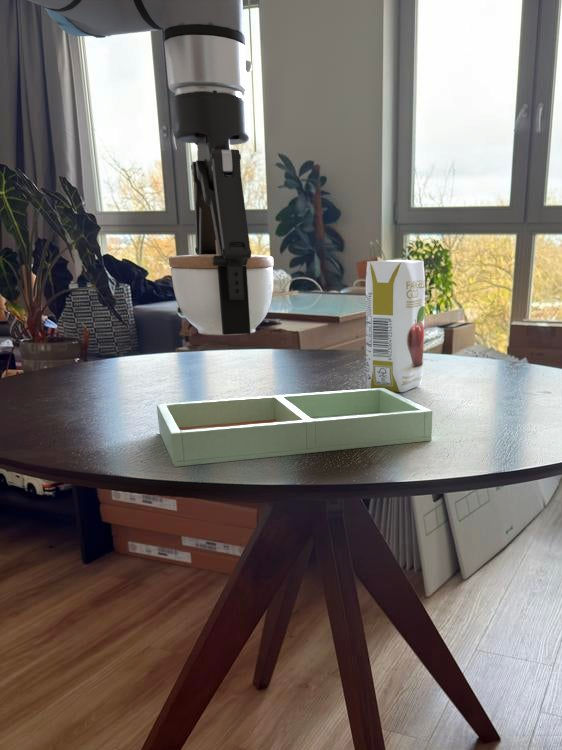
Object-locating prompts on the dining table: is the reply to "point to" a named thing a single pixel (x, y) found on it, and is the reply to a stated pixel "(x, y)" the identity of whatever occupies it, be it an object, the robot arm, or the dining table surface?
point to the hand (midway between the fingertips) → (226, 328)
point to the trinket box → (201, 290)
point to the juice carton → (395, 324)
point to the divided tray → (289, 425)
